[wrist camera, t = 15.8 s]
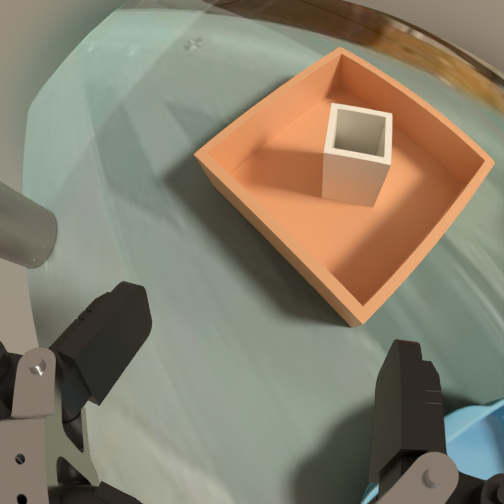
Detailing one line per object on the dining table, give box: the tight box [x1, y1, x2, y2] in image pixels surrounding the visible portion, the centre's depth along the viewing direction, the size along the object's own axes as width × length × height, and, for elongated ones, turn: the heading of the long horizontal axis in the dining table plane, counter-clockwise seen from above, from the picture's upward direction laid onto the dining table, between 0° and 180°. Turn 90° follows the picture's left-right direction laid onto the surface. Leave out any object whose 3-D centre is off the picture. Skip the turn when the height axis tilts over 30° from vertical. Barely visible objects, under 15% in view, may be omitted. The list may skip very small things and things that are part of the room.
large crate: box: [194, 47, 495, 328], centre depth 31 cm, size 22×22×7 cm
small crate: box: [322, 103, 392, 208], centre depth 29 cm, size 6×6×9 cm
